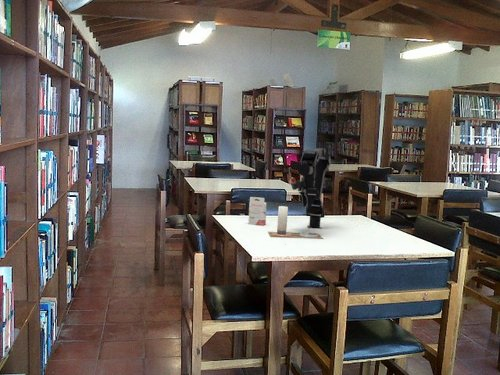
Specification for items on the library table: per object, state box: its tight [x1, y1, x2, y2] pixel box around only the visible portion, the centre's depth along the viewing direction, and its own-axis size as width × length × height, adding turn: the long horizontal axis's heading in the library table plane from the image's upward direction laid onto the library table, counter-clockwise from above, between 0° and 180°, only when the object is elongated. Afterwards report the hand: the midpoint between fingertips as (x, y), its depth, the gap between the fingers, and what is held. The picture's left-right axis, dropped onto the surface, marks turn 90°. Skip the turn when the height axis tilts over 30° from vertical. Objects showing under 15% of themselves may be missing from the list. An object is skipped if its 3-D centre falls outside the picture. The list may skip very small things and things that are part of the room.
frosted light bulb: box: [276, 205, 289, 235], centre depth 244 cm, size 4×4×13 cm
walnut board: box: [267, 231, 324, 240], centre depth 245 cm, size 13×25×1 cm, turn 95°
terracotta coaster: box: [272, 231, 291, 237], centre depth 245 cm, size 9×9×1 cm
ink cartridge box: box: [247, 196, 267, 226], centre depth 274 cm, size 9×5×15 cm, turn 74°
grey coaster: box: [299, 232, 318, 239], centre depth 246 cm, size 9×9×1 cm
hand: (306, 207), depth 253 cm, fingers open, 9 cm apart
